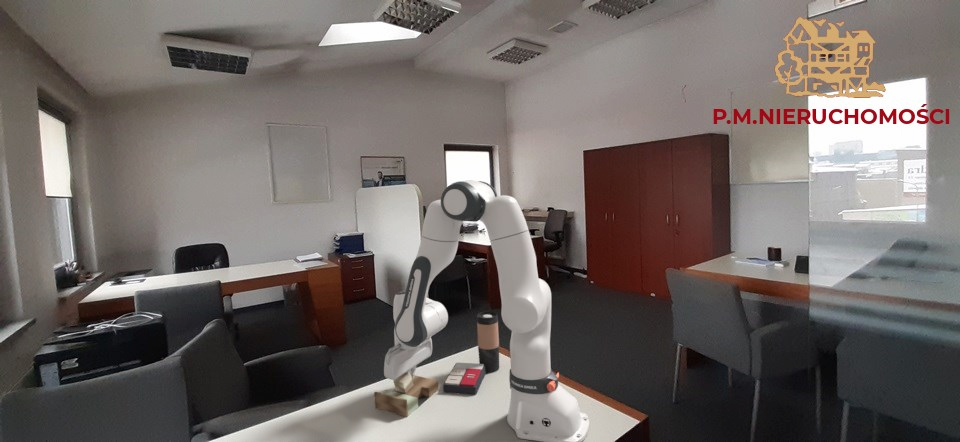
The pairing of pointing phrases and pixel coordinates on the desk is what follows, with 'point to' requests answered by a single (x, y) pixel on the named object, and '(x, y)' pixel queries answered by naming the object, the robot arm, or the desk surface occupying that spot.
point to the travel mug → (488, 340)
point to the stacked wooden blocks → (407, 397)
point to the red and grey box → (465, 378)
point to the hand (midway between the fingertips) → (410, 380)
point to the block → (403, 383)
